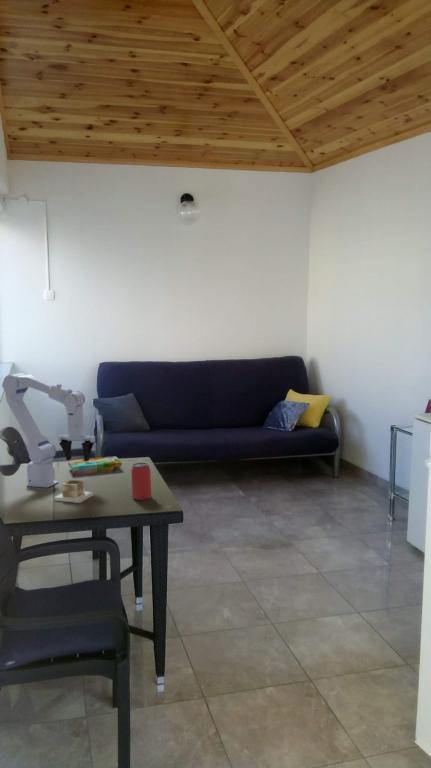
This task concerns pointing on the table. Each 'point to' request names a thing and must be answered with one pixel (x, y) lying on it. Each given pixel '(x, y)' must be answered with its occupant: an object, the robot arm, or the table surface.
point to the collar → (73, 488)
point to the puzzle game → (94, 465)
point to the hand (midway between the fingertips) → (77, 460)
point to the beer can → (141, 481)
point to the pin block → (73, 499)
